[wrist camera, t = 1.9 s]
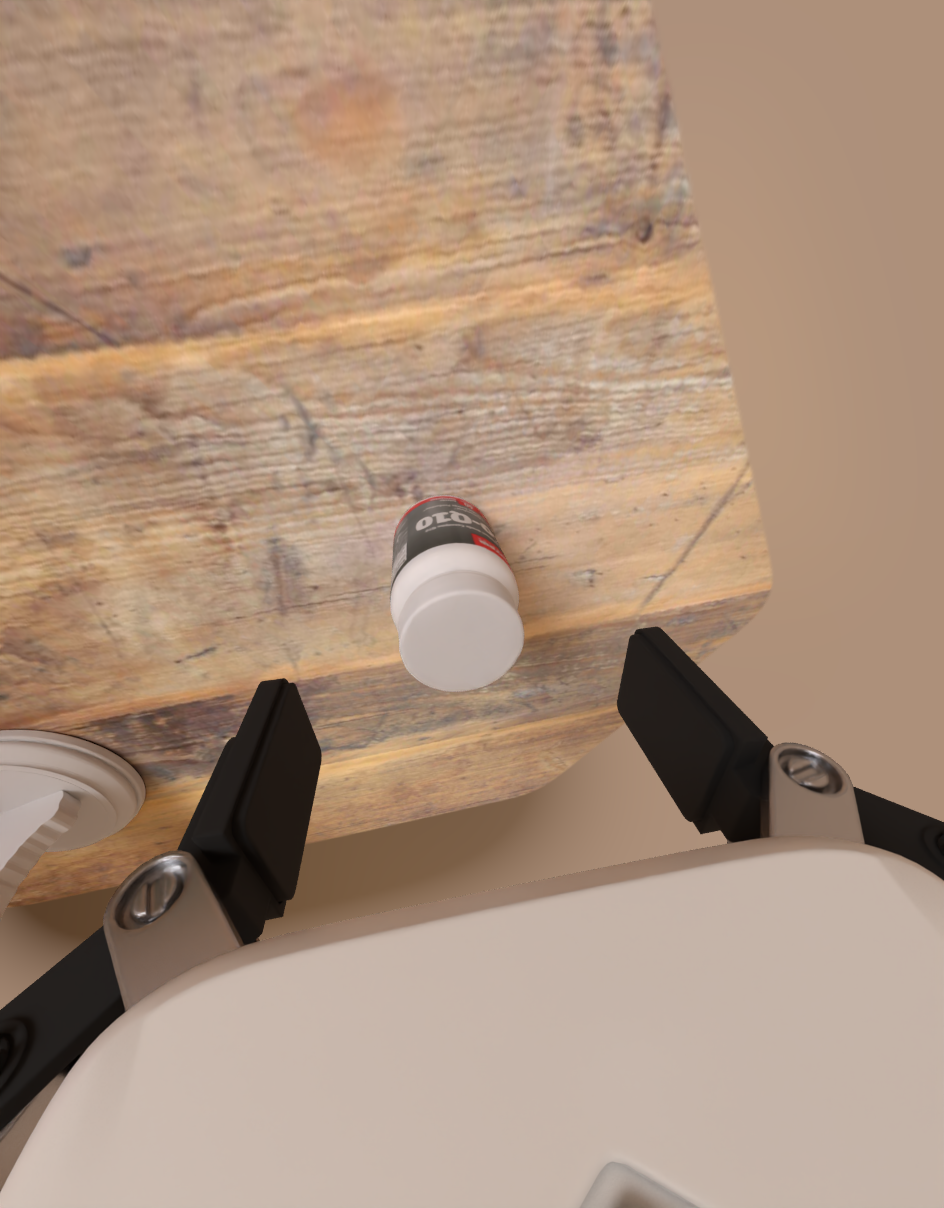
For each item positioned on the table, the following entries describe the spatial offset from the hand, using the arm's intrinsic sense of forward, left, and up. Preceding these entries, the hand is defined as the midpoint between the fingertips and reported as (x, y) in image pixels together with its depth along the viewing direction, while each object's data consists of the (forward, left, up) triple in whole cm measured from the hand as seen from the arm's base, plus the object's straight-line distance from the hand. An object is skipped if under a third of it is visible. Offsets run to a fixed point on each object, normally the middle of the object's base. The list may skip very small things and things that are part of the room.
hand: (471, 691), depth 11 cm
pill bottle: (0, 0, -10) cm, 10 cm away
